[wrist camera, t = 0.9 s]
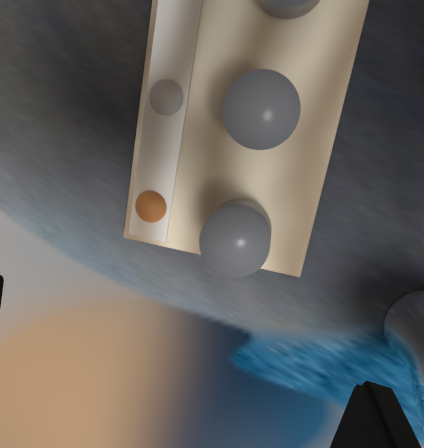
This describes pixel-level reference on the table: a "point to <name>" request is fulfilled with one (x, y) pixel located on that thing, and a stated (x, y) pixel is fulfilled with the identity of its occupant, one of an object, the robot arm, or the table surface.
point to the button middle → (261, 109)
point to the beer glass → (409, 340)
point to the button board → (214, 126)
